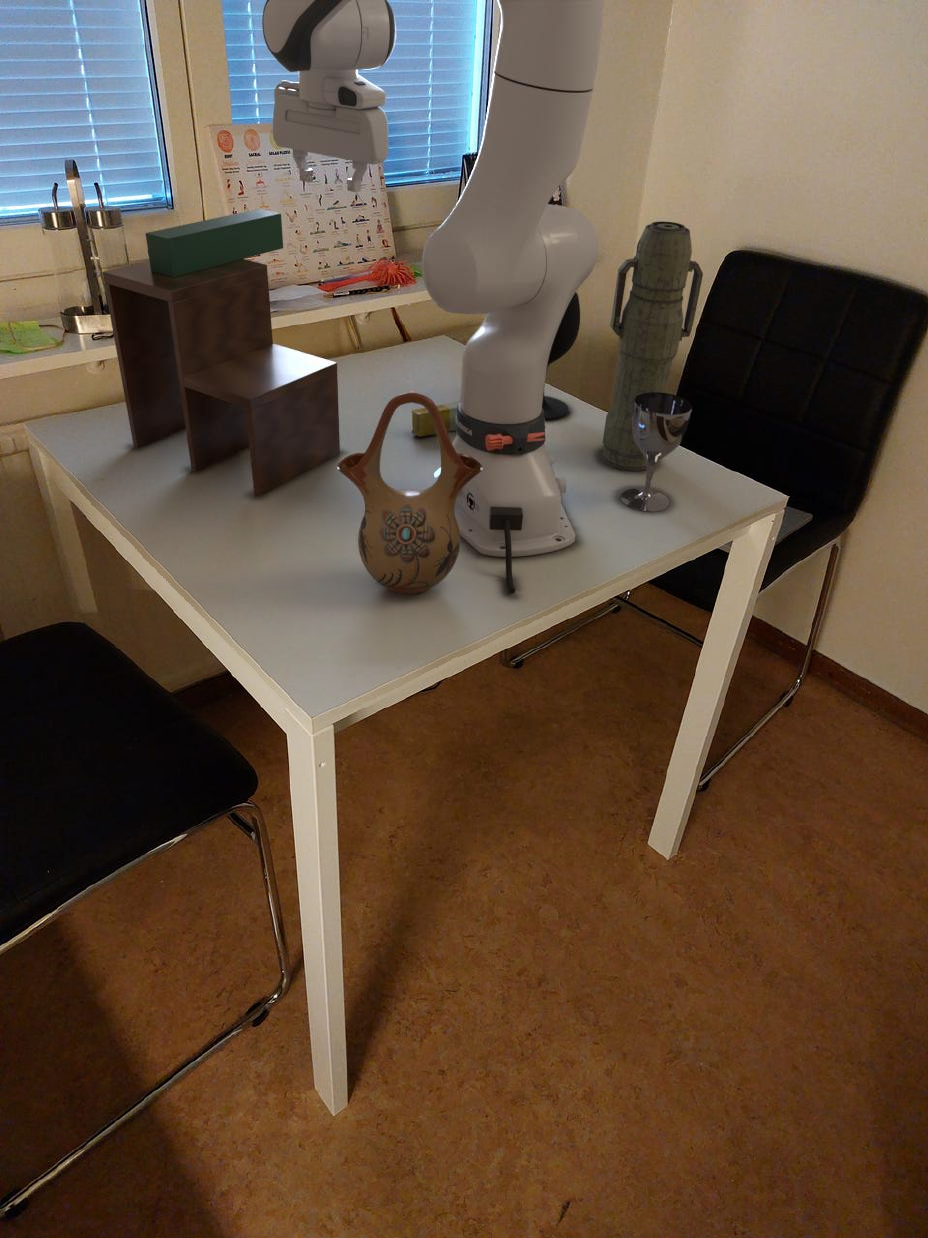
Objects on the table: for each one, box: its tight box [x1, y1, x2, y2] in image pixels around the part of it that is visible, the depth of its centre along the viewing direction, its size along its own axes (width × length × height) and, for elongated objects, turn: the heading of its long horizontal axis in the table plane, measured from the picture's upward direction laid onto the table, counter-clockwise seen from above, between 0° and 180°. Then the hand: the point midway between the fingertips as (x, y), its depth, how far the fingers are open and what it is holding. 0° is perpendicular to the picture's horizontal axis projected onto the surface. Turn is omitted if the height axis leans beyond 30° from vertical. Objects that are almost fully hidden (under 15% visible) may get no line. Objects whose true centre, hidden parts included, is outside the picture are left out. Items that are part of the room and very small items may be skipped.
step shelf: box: [101, 258, 341, 497], centre depth 131 cm, size 18×26×26 cm
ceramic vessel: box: [336, 391, 483, 595], centre depth 103 cm, size 16×9×25 cm, turn 95°
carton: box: [144, 208, 284, 277], centre depth 129 cm, size 22×4×5 cm, turn 147°
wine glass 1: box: [542, 291, 581, 421], centre depth 152 cm, size 10×10×20 cm
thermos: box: [600, 220, 704, 472], centre depth 133 cm, size 9×12×35 cm
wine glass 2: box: [620, 392, 693, 513], centre depth 127 cm, size 8×8×15 cm
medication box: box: [411, 400, 461, 438], centre depth 147 cm, size 12×3×4 cm, turn 123°
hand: (330, 186), depth 144 cm, fingers open, 8 cm apart
